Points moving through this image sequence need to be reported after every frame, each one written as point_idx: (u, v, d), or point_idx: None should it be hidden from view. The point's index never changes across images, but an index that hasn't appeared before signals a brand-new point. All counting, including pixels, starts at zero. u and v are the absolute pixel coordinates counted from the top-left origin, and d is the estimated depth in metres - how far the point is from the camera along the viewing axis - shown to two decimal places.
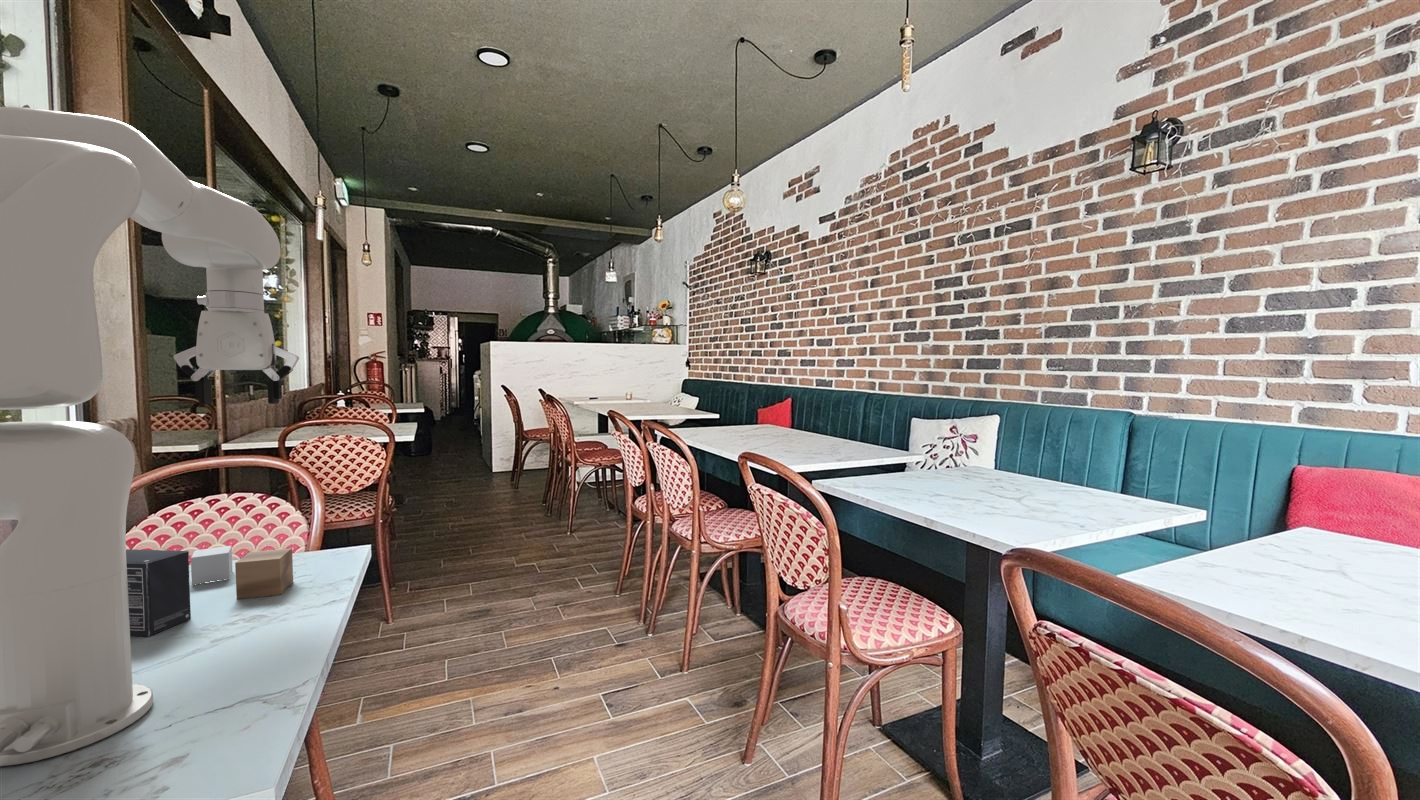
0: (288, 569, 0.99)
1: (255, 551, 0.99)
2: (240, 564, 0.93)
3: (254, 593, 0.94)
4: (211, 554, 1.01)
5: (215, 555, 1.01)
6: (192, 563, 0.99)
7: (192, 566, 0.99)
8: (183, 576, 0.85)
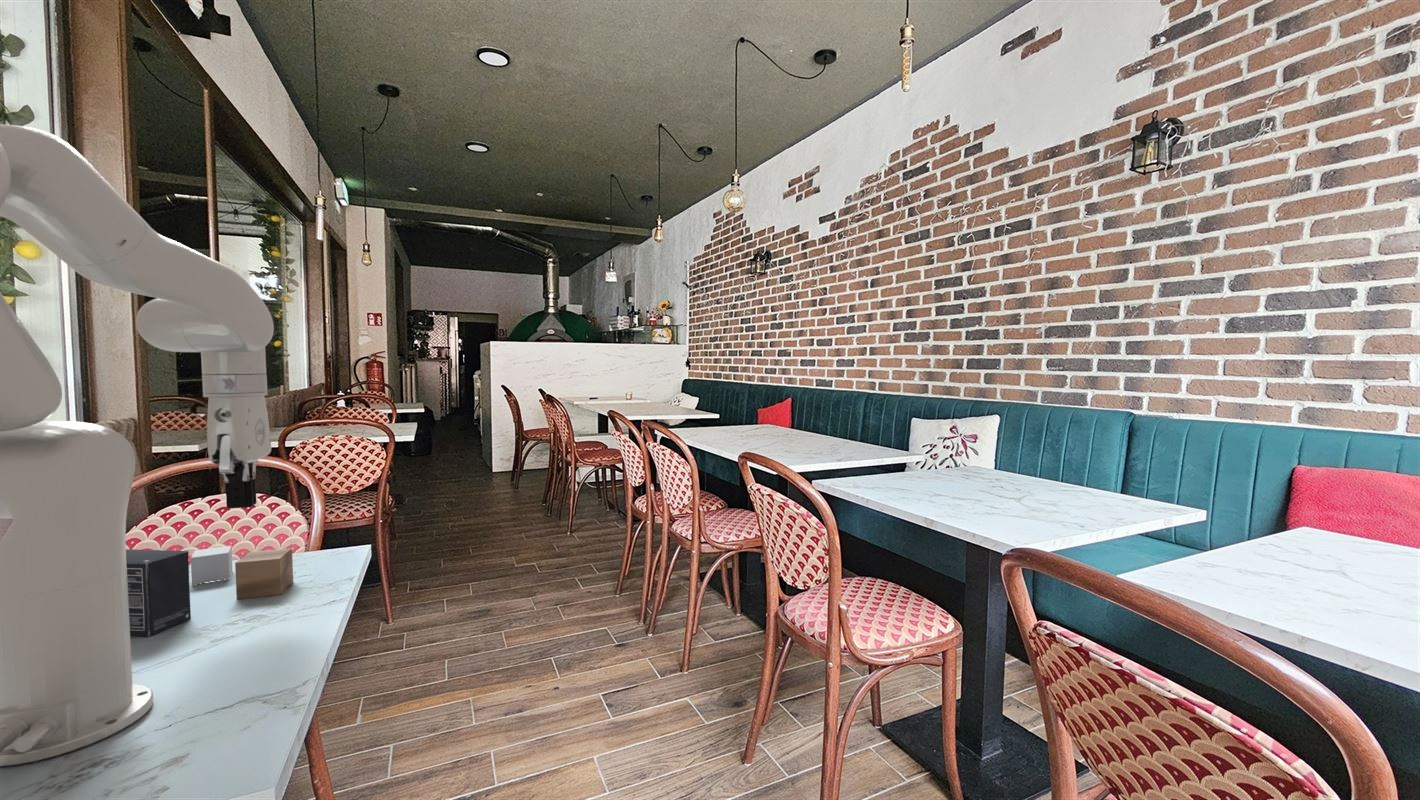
0: (288, 569, 0.99)
1: (255, 551, 0.99)
2: (240, 564, 0.93)
3: (254, 593, 0.94)
4: (211, 554, 1.01)
5: (215, 555, 1.01)
6: (192, 563, 0.99)
7: (192, 566, 0.99)
8: (183, 576, 0.85)
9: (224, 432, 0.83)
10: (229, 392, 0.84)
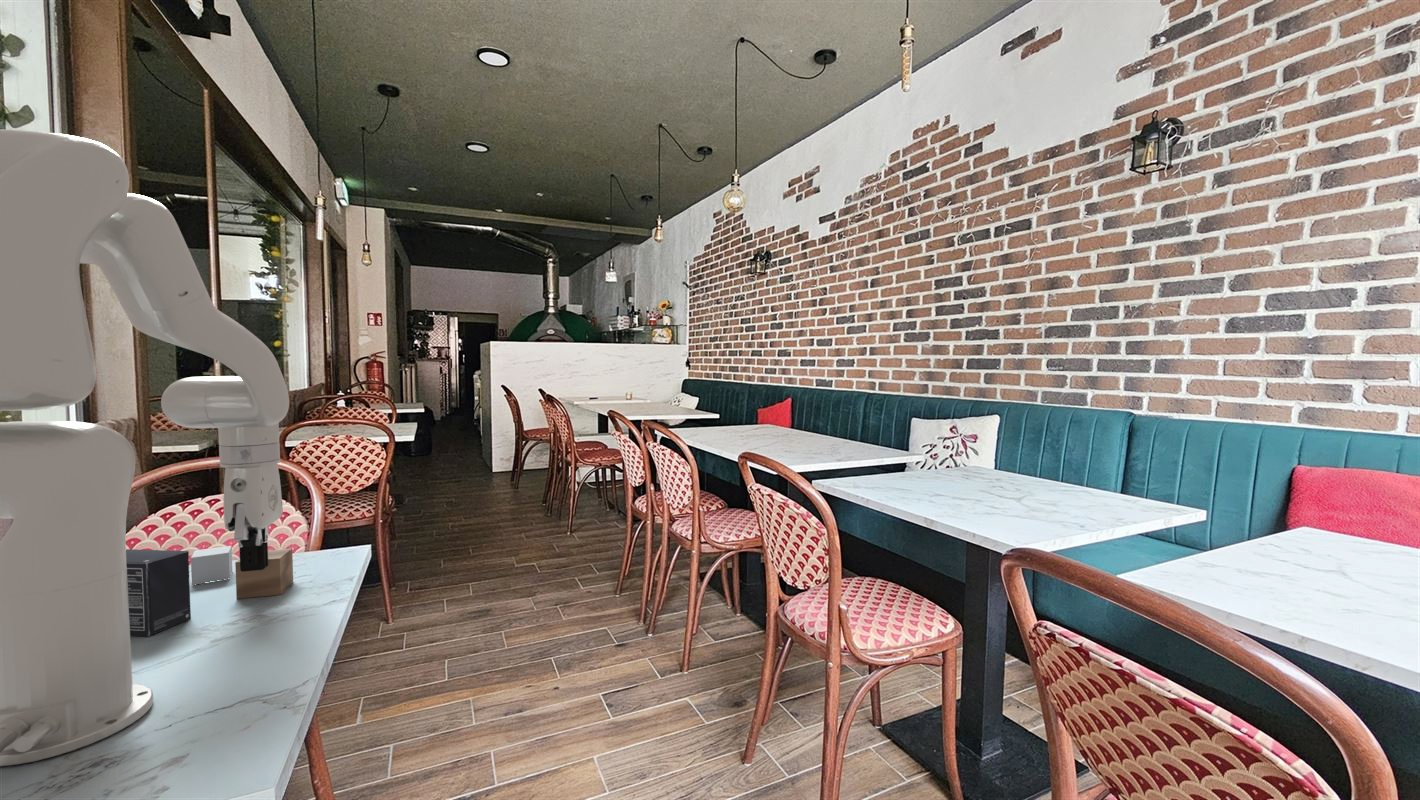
0: (288, 569, 0.99)
1: None
2: None
3: (254, 593, 0.94)
4: (211, 554, 1.01)
5: (215, 555, 1.01)
6: (192, 563, 0.99)
7: (192, 566, 0.99)
8: (183, 576, 0.85)
9: (239, 501, 0.88)
10: (244, 462, 0.89)
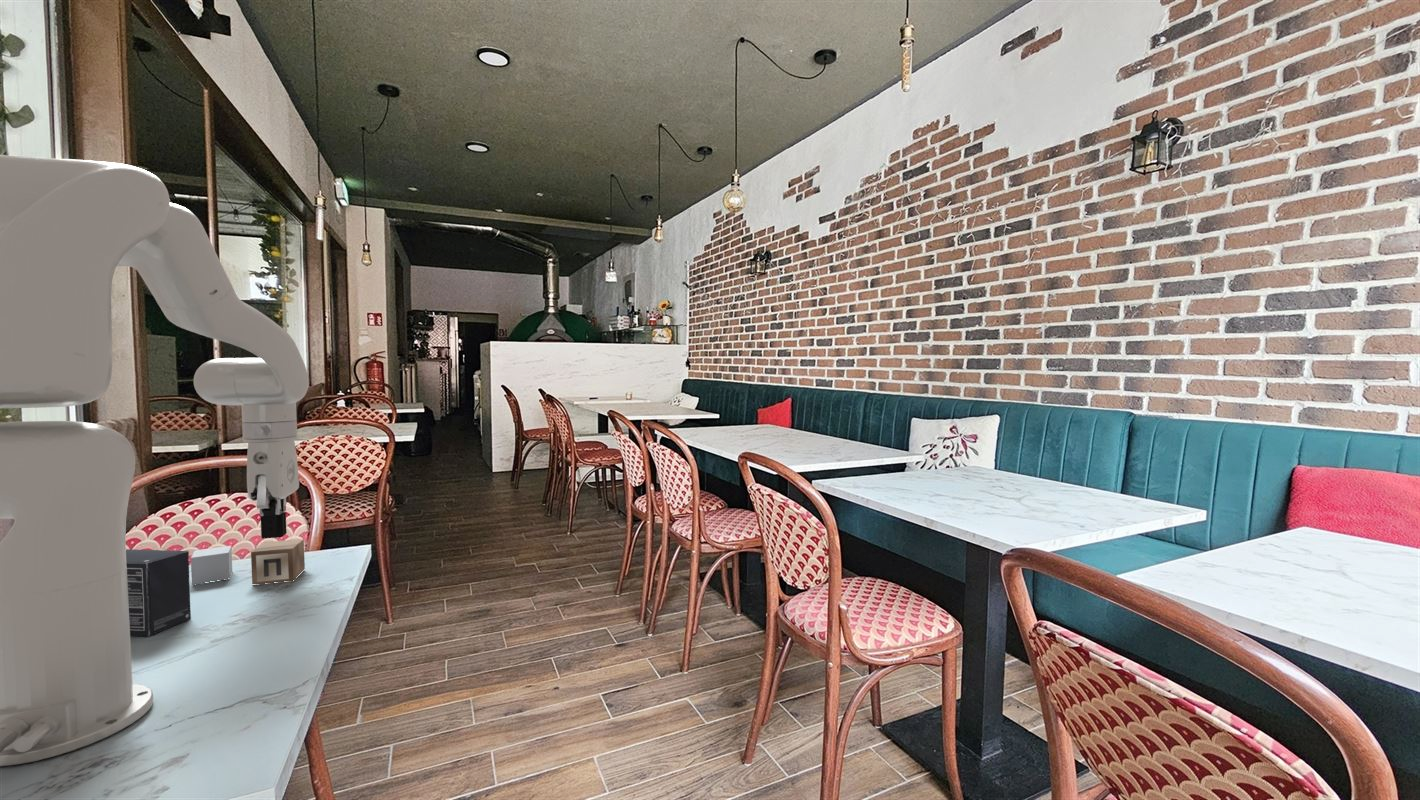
0: (298, 564, 1.04)
1: None
2: (268, 542, 1.05)
3: (269, 549, 1.00)
4: (211, 554, 1.01)
5: (215, 555, 1.01)
6: (192, 563, 0.99)
7: (192, 566, 0.99)
8: (183, 576, 0.85)
9: (261, 473, 0.96)
10: (266, 438, 0.97)
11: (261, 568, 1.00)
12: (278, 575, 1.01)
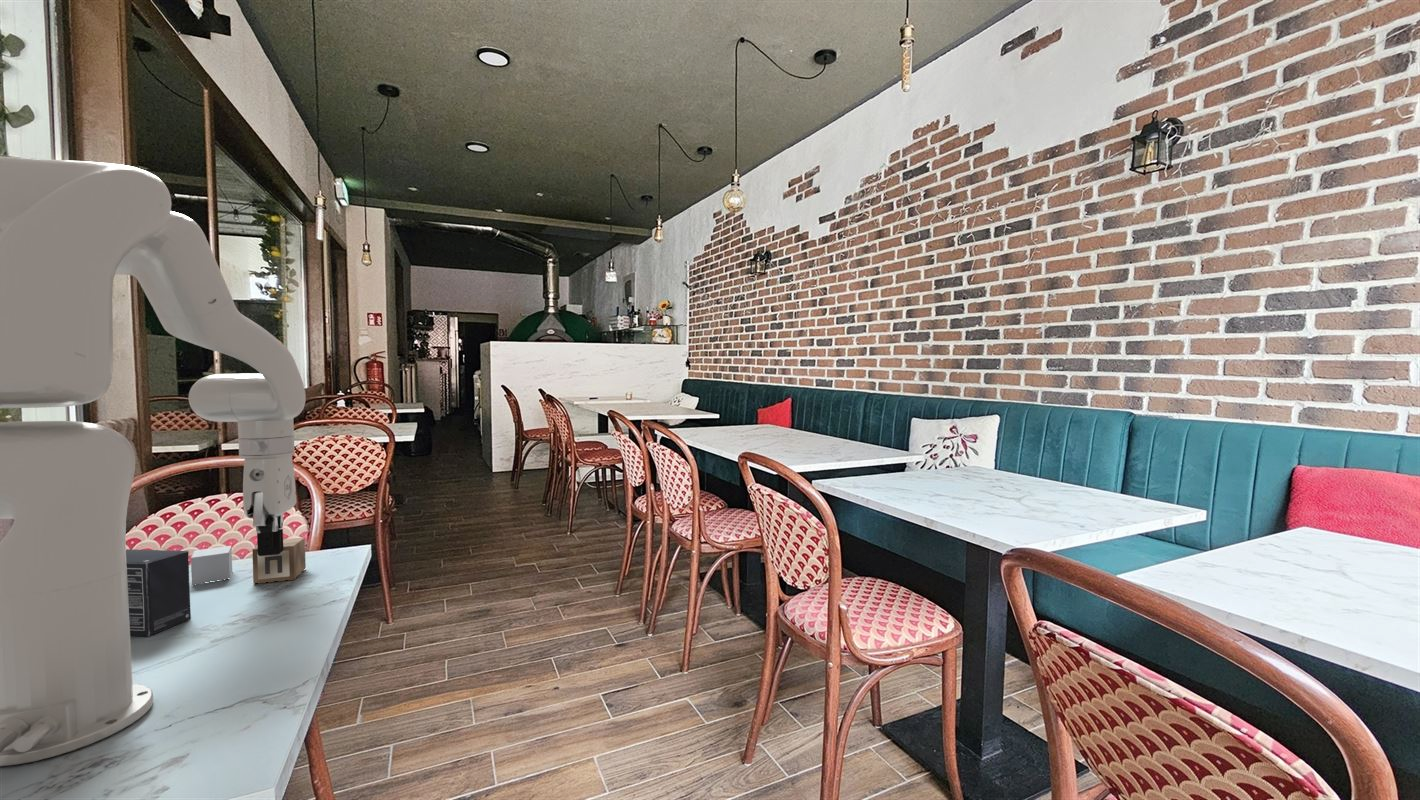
0: (299, 562, 1.04)
1: None
2: None
3: None
4: (211, 554, 1.01)
5: (215, 555, 1.01)
6: (192, 563, 0.99)
7: (192, 566, 0.99)
8: (183, 576, 0.85)
9: (258, 490, 0.94)
10: (262, 454, 0.95)
11: (262, 565, 1.00)
12: (279, 573, 1.01)
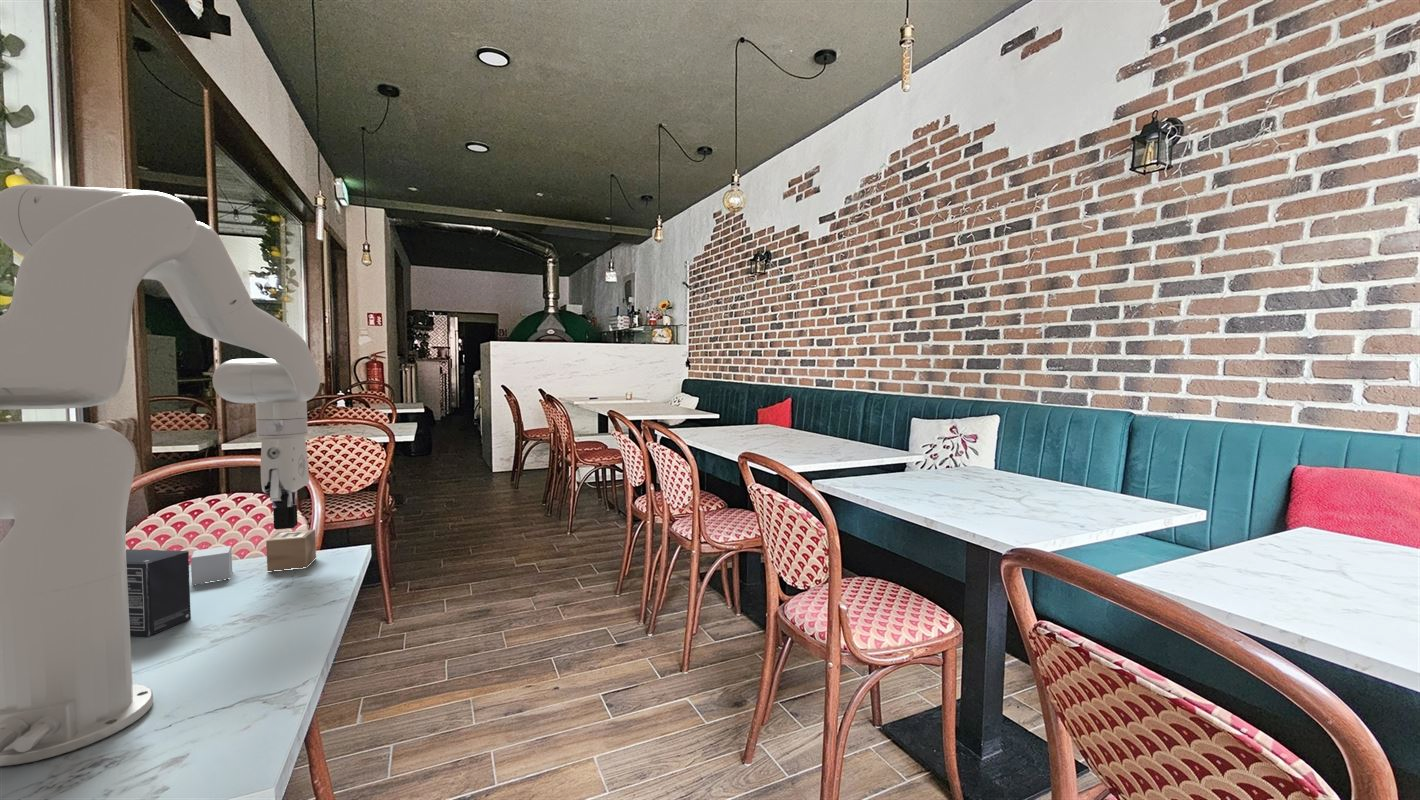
0: (309, 549, 1.10)
1: None
2: None
3: None
4: (211, 554, 1.01)
5: (215, 555, 1.01)
6: (192, 563, 0.99)
7: (192, 566, 0.99)
8: (183, 576, 0.85)
9: (274, 467, 1.01)
10: (278, 434, 1.02)
11: (281, 535, 1.09)
12: (293, 536, 1.08)
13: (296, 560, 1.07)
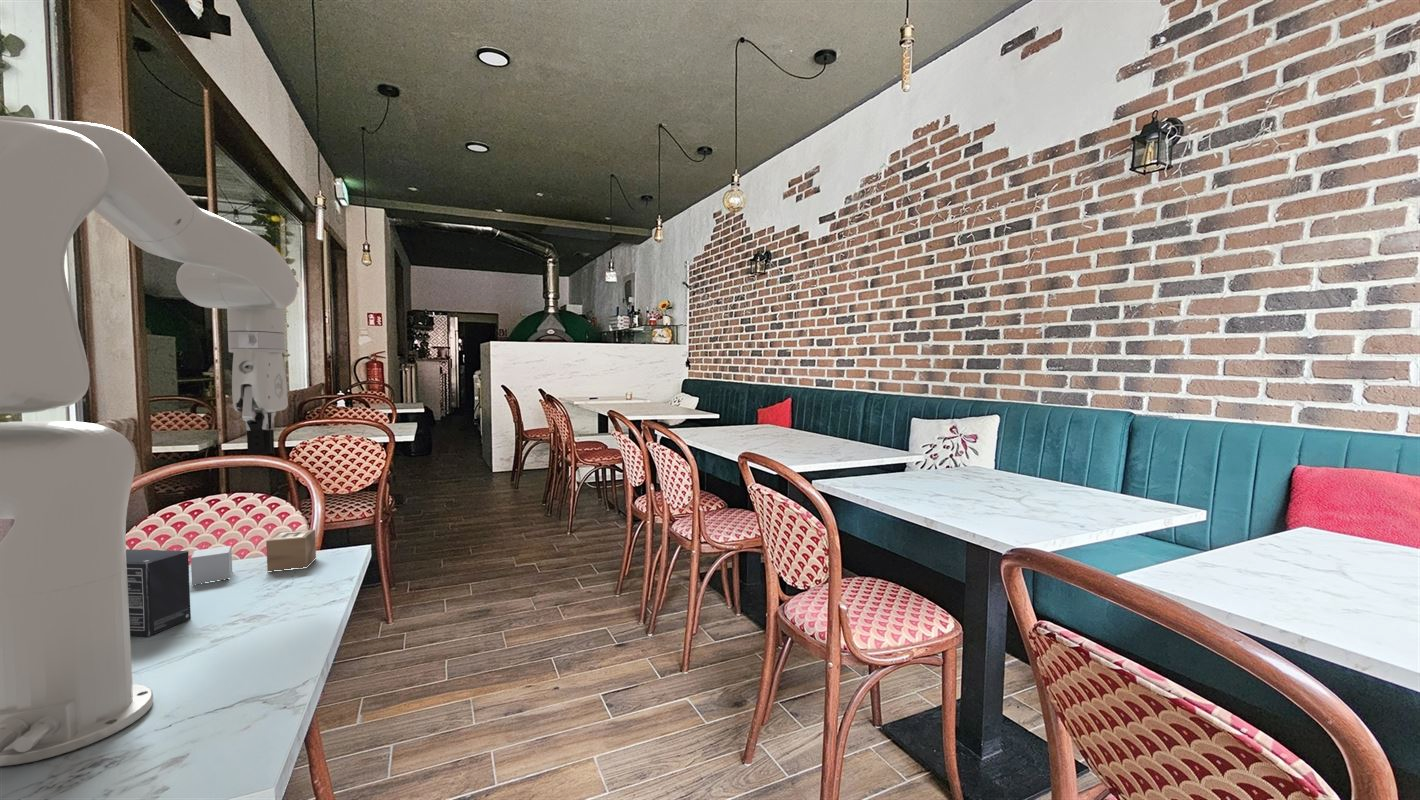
0: (309, 549, 1.10)
1: None
2: None
3: None
4: (211, 554, 1.01)
5: (215, 555, 1.01)
6: (192, 563, 0.99)
7: (192, 566, 0.99)
8: (183, 576, 0.85)
9: (247, 382, 0.92)
10: (252, 347, 0.93)
11: (281, 535, 1.09)
12: (293, 536, 1.08)
13: (296, 560, 1.07)
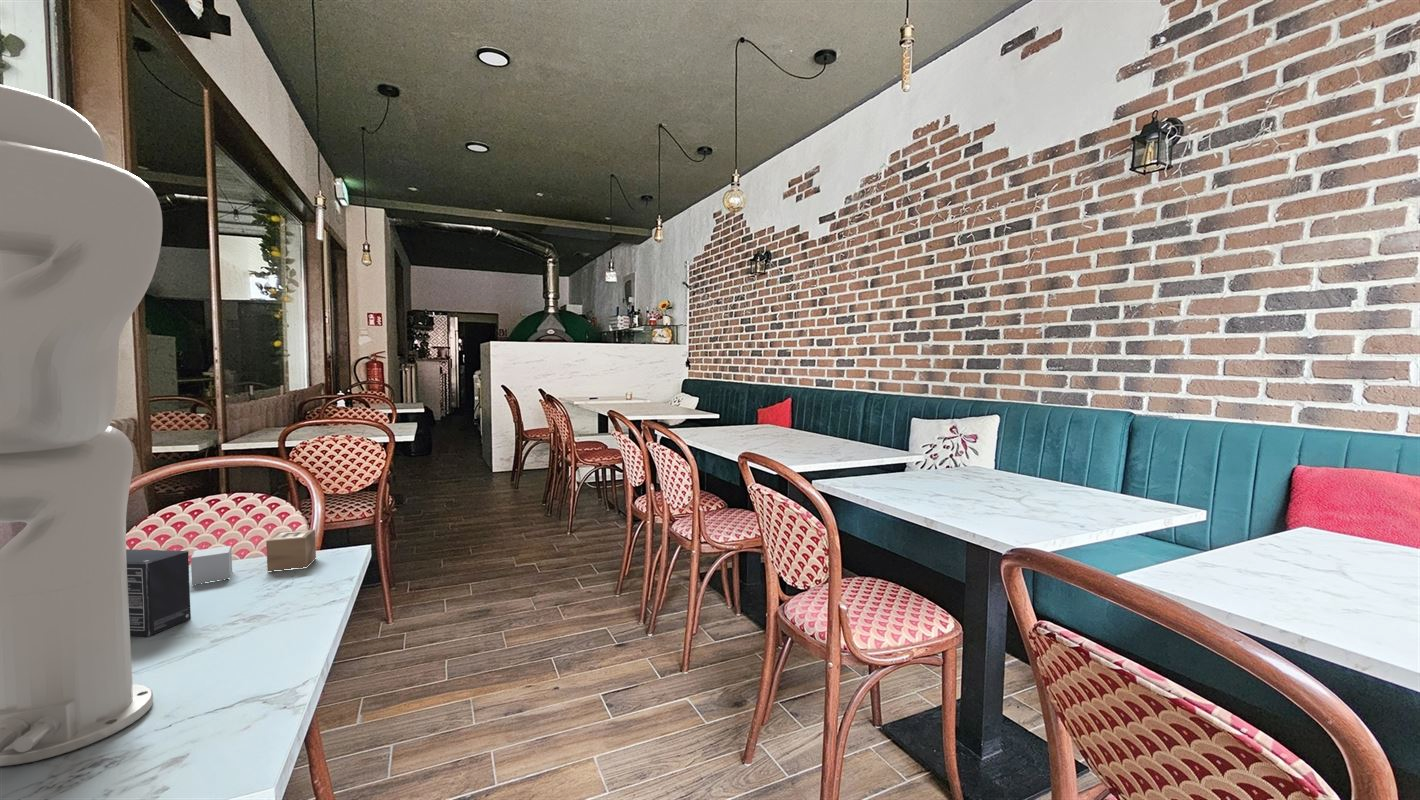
0: (309, 549, 1.10)
1: None
2: None
3: None
4: (211, 554, 1.01)
5: (215, 555, 1.01)
6: (192, 563, 0.99)
7: (192, 566, 0.99)
8: (183, 576, 0.85)
9: None
10: None
11: (281, 535, 1.09)
12: (293, 536, 1.08)
13: (297, 560, 1.07)
